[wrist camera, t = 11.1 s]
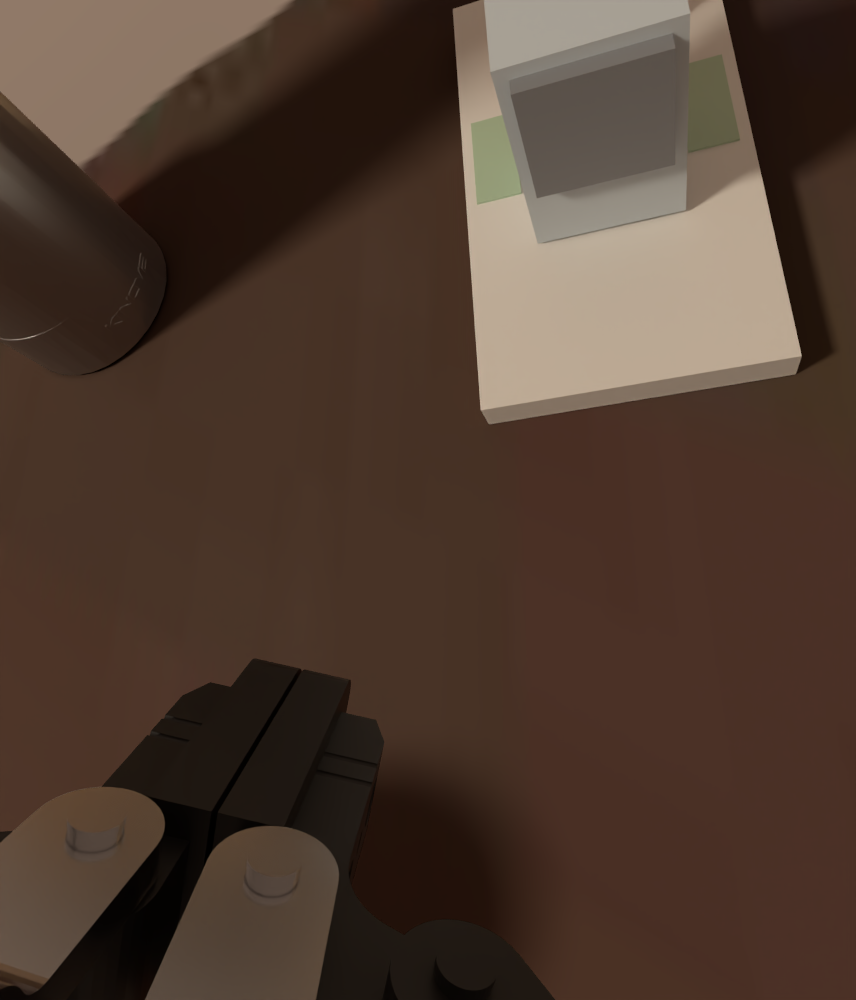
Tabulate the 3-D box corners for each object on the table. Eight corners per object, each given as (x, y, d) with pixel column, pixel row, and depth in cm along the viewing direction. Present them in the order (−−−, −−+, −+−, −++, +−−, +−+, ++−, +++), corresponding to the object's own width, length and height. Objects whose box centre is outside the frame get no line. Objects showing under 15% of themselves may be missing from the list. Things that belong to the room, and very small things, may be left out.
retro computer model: (688, 222, 30) (693, 28, 22) (538, 255, 32) (491, 86, 23) (668, 112, 32) (666, -106, 24) (527, 149, 33) (480, -43, 25)
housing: (795, 374, 29) (802, 354, 27) (488, 424, 32) (480, 409, 30) (705, -42, 36) (706, -75, 34) (460, 34, 39) (452, 7, 37)
